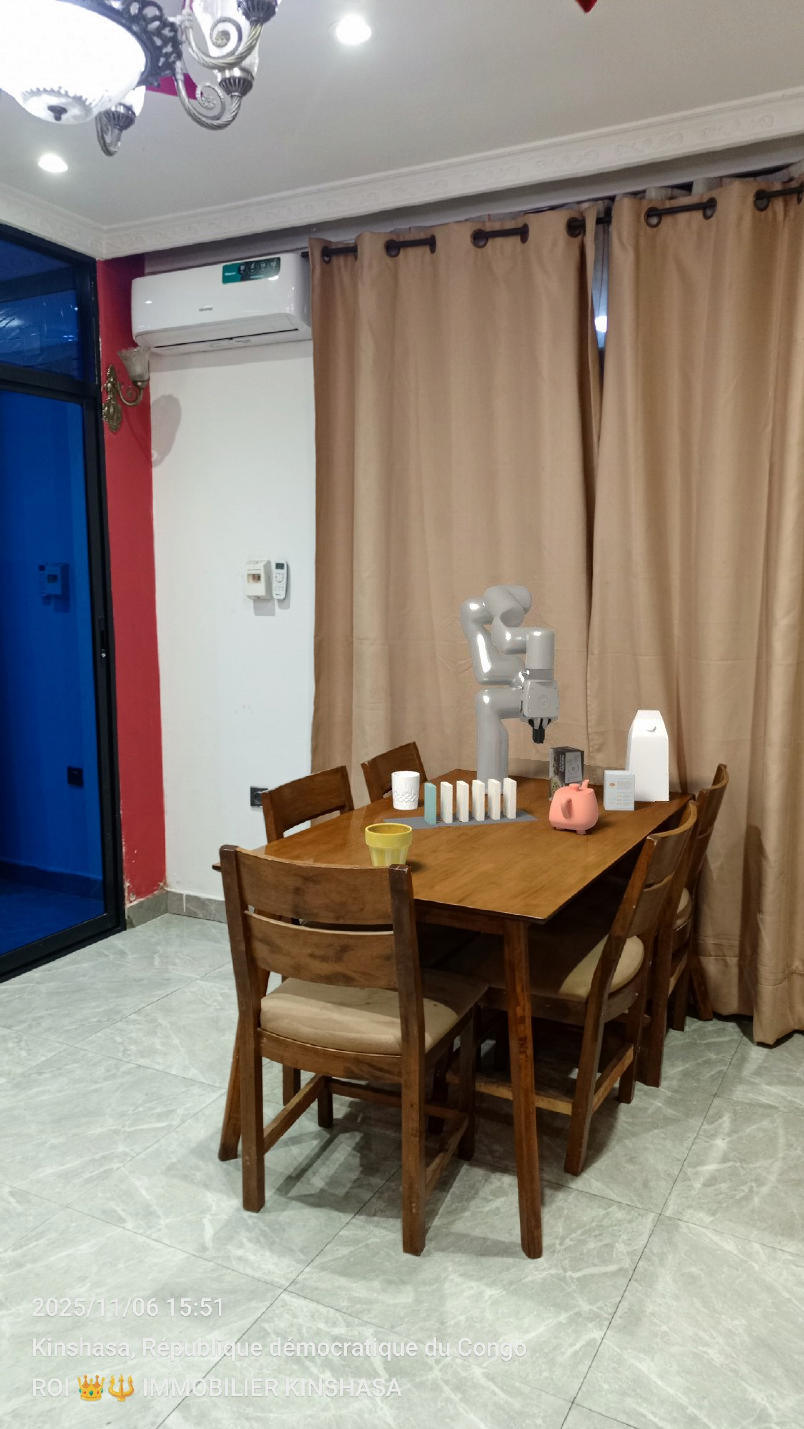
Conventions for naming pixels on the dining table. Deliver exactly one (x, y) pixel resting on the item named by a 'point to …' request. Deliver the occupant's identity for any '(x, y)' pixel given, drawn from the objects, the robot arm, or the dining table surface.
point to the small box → (619, 790)
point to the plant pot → (388, 843)
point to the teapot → (574, 808)
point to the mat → (422, 824)
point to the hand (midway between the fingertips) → (538, 742)
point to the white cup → (405, 789)
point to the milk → (649, 756)
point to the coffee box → (565, 768)
